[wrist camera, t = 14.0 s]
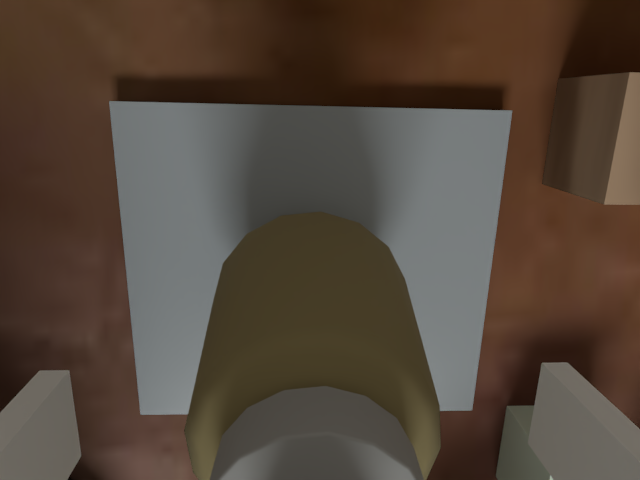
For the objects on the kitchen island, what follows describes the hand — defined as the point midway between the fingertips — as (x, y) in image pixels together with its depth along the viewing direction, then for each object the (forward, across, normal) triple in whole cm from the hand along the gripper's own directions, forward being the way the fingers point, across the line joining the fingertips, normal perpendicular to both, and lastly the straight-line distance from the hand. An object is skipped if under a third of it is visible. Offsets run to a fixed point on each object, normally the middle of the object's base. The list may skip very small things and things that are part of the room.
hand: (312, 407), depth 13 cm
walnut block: (+11, -14, -7) cm, 20 cm away
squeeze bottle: (+10, 0, 0) cm, 11 cm away
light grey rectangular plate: (+11, 0, 0) cm, 11 cm away
